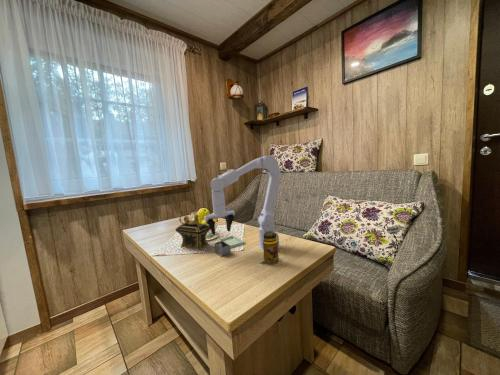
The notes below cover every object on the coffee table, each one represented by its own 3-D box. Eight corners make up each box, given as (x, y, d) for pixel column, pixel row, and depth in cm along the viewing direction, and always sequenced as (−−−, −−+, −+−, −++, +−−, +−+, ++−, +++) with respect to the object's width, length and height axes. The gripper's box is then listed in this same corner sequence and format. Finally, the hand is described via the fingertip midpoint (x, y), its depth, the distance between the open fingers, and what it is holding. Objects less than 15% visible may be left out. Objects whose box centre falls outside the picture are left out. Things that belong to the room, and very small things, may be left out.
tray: (244, 244, 109) (244, 241, 109) (228, 250, 104) (227, 246, 104) (233, 238, 120) (232, 235, 120) (217, 242, 115) (217, 239, 115)
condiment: (275, 267, 85) (274, 238, 83) (256, 263, 89) (254, 235, 88) (282, 259, 91) (280, 231, 90) (264, 256, 95) (262, 229, 94)
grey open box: (230, 253, 98) (230, 245, 98) (222, 256, 96) (221, 248, 96) (222, 248, 106) (221, 240, 105) (214, 250, 103) (213, 242, 103)
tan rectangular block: (233, 254, 98) (232, 246, 98) (221, 258, 95) (220, 250, 95) (224, 248, 106) (223, 241, 106) (213, 252, 103) (212, 244, 102)
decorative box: (213, 244, 112) (210, 208, 110) (200, 252, 104) (196, 212, 101) (185, 240, 122) (182, 206, 120) (172, 246, 114) (167, 210, 111)
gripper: (229, 200, 105) (231, 227, 107) (200, 205, 98) (203, 234, 100) (235, 202, 100) (238, 230, 101) (206, 207, 92) (209, 238, 94)
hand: (221, 232), depth 100 cm, fingers open, 7 cm apart
